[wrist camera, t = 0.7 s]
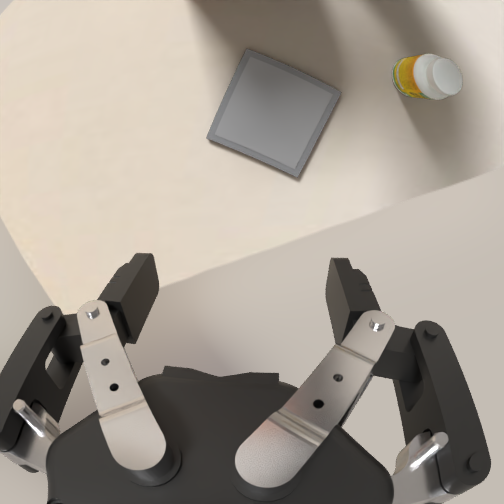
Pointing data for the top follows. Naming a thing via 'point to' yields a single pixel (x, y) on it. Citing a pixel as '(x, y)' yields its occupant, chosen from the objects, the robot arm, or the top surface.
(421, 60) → the supplement bottle
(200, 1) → the top surface
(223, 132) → the plate
